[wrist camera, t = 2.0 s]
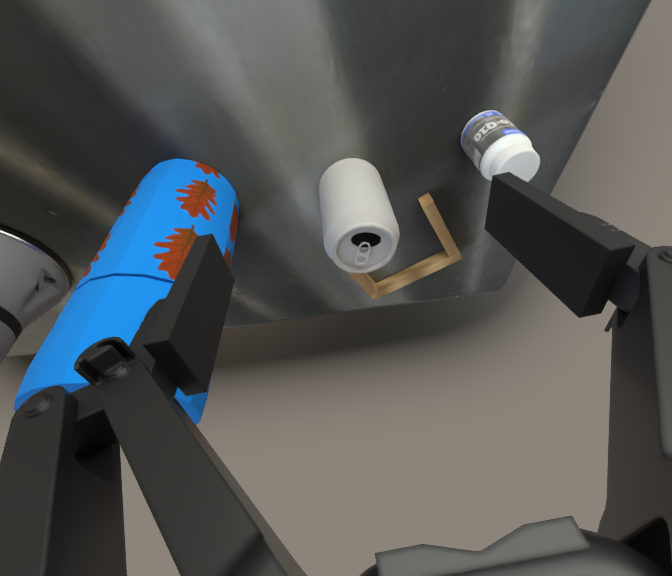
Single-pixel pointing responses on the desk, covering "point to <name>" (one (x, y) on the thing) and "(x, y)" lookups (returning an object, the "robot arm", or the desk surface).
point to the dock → (420, 268)
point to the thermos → (138, 270)
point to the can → (357, 217)
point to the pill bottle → (499, 146)
